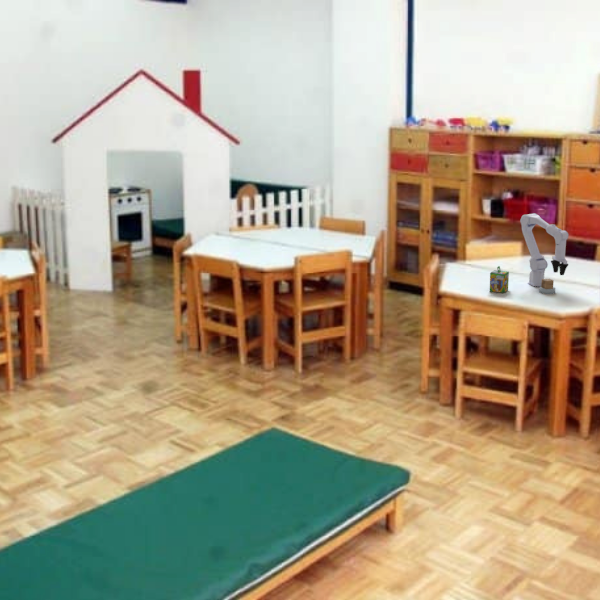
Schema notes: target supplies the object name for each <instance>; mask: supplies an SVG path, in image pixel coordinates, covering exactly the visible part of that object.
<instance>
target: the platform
mask: <svg viewBox="0 0 600 600" xmlns="http://www.w3.org/2000/svg"><path fill="white" fill-rule="evenodd" d="M540 292H541V293H540ZM539 293H540V294H543V293H545V294H544V295H554V294H556V287H555V286H553V289H544V288H542V287H541V286H539ZM553 293H554V294H553Z"/></svg>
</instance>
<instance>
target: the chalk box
mask: <svg viewBox="0 0 600 600" xmlns="http://www.w3.org/2000/svg"><path fill="white" fill-rule="evenodd" d="M496 268H497V270H493V271H491V272H490V273H489V292H491V293H502V294H504V293H506V292H508V291H509V277H510V276H509V275H510V272H509V271H506V270H501V266H500V265H498V266H497V267H496Z"/></svg>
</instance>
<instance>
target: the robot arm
mask: <svg viewBox="0 0 600 600" xmlns="http://www.w3.org/2000/svg"><path fill="white" fill-rule="evenodd" d="M519 221H520V225H521V232H522V236H523V237H524V240H525V244H526V247H527V248H528V251H529V254H530V258H529V260H528V261H529V267H530V271H529V278H528V280H529V281H528V282H527V284H528V285H530V286H533V287H534V286H535V287H536V286H537V287H541V283H542V279H545V271H546V269H547V268H548V265H549V263H548V261H547V259H545V256H544V255H542V254H541V252H540V249H539V247H538V244H537V241H536V239H535V235H534V233H533V229H534V227H535V226H536V225H537V226H539V227H541V228H543V229H545V231H546V233H547V234H548V235H550V236H552V237H553V238H554V241H555V247H554V249H555V251H554V252H555V253H554V255H552V258H551V259H552V260H550V263H551V266H552V269H553V273H558V272H559V275H560V276H564V275H565V273H566V270H567V268H568V266H569V263H568V260H567V259H566V248H567V247H566V246H567V240H568V239H569V236H570V235H569V232H568V231H567V230H562V229H561V228H558V227H557V225H556V224H555V223H554V224H553V223H552V224H550V223H548V222H547V221H545V220H544V219H543V218H542V217H540V215H538V214H537V213H529V214H523V215H522V216H521V218H520V220H519Z"/></svg>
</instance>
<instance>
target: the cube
mask: <svg viewBox="0 0 600 600" xmlns="http://www.w3.org/2000/svg"><path fill="white" fill-rule="evenodd" d="M554 282H555V281H554V280H553V279H551V278H544V279H542V283H541V286H540V287H542V288H544V289H553V287H554Z"/></svg>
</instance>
